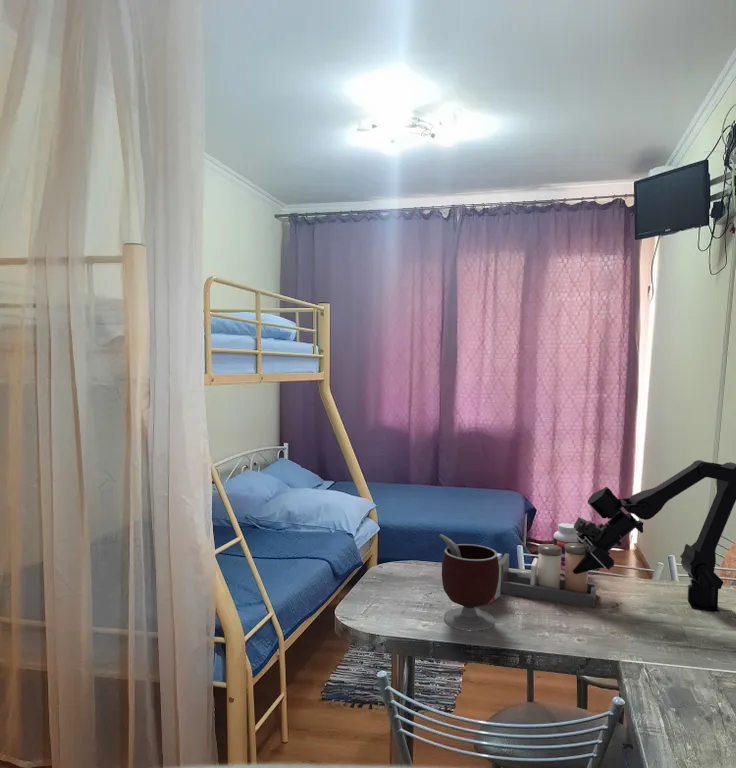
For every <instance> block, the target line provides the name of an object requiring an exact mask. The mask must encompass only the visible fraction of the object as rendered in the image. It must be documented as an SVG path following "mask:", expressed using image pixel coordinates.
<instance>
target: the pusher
mask: <svg viewBox="0 0 736 768" xmlns="http://www.w3.org/2000/svg"><path fill="white" fill-rule="evenodd" d="M516 572H517V577H521V578H528V579H531V583H530V585H533V586H537V575H538V558H537V557H534V558H533V560H532V563H531V565H530V571H525V570H517V571H516Z"/></svg>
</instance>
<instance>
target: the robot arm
mask: <svg viewBox="0 0 736 768" xmlns="http://www.w3.org/2000/svg"><path fill="white" fill-rule="evenodd" d="M705 478H709V479H715V480H716V481H715V482H716V483H715V485H716V493H715V496H714V498H713V500H712V503H711V506H710V508H709V511H708V512H707V516H705V517H706V518H705V521H704V523H703V524H702V528H701V529H700V533H699V535H698V538H697V540H696V541H695V542H693V544H692V545H689V544H688V543H686V544H685V545H684V549H683V552H682V553H681V555H680V556H679V558H681V561H680V564H681V567H682V569H683V570H684V571H685V572H687V575H688V577H689V578H690V584H688V585H687V598H686V599H687V602H688V604H689V607H690V608H691V609H692V608H693V609H697V610H703V611H704V610H705V611H711V612H717V613H719V612H720V609H719V607H718V606H719V590H721V589H722V587H723V585H724V581H723V580H722V579H721V578H720V577H719V576H718V574H716V573H715V569H716V568H715V567H716V563H717V561H716V560H717V559H716V550H717V546H718V544H719V542H720V540H721V537H722V535H723V533H724V531H725V527H726V526H727V523H728V520H729V518H730V516H731V513H732V511H733V509H734V505H735V504H736V463H735V462H725V463H722V464H721V463H717V462H708V461H704V460H702V459H697V460H695V461H692V463H691V464H690V465H689V466H687V467H685V468H684V469H682V470H680V471H679V472H677V473H675V474H673V476H671V477H669V478H668V479H666V480H665V481H663V482H662V483H660V484H658V485H656V486H655V487H651V488H649V489H644V490H642V491H639V492H637V493H635V494H633V495H631V496H629V497H625V498H618V497H617V496H616V495H615V494H614V493H613V490H611V489H610V488H609V487H608V486H605V487H604V488H603V489H599V490H597V491H596V492H594V493H592V495H590V496H589V498H588V499H587V504H588V505H589V506H590V507H591V509H593V510H594V511H595V512H596V513H597V514H598V515H599V516H600V518H602V519H608V520H607V521H606V523H604V524H603V523H599V524H598V525H597V524H596V523H595V522H592V521H590V520H589V521H588V520H586V519H584V518H582V517H577V519H576V521H575V524H573V525H574V528H575V530H576V531H577V532H576V533H577V535H578V537H579V538H581V539H580V540H579V539H578V538H577V541H578V543H581V544H585V545H587V546H589V551H588V550H587V549H585V557H584V558H583V559H582V560H581V561H580V563H579V564H578V565H577V566H576V567H575V569H574V570H573V573H574V574H579V573H583V572H586V571H588V572H589V571H594V570H599V569H605V568H606V569H607V570H608V571H610V570H611V569H612V568H613V567H614V566H615V560H614V559H613V557H612V556H611V553H610V551H611V550H612V549H613V548H614V547H615V546H619V547H620V546H621V545H622V542H621V541H623V539H624V538H626V537H627V536H628V535H630V534H631V532H633V531H634V530H635V529H636V530H637V531H638V532H640V533H641V534H643V533H644V522H643V521H642V520H647V521H648V520H650V519H652V518H653V517H655V516H656V515H657V514H658V513H659V512H661V510H662V509H663V507H664V506H665V504H666V503H668V502H669V501H670V500H672V499H673V498H674V497H677V496H678V495H680V494H681V493H684V491H686V490H687V489H689V488H691V487H692V486H694V485H696V484H698V483H699V482H701V481H702V480H703V479H705ZM622 509H623V510H624V511H626V512H627V513H626V512H624V511H623V510H622ZM632 514H633V515H634V516H635V517H637V518H638V519H641V520H637V519H636V518H635V517H634V516H633V515H632Z"/></svg>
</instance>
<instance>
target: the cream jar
mask: <svg viewBox="0 0 736 768" xmlns="http://www.w3.org/2000/svg"><path fill="white" fill-rule="evenodd" d="M537 551H538V555H537V556H538V585H537V586H540V587H546V588H553V589H559V590H560V578H561V575H562V574H561V554H562V548H561V547H560V546H557V545H553V543H552V544H551V543H542V544H541V543H540V544H538V549H537Z"/></svg>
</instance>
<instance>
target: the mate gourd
mask: <svg viewBox="0 0 736 768" xmlns="http://www.w3.org/2000/svg"><path fill="white" fill-rule="evenodd" d="M439 538H441V539H442V540H444V542H445V543H446V545H447V547H445V548H444V553H443V555H442V556H443V557H442V560H441V561H442V563H441V581H442V587H443V591H444V593H445V594H446V595H447V597H448V599H449V600H450V601H451V602H453V603H455V604H457V605H459V606H461V607H456V608H452V609H449V610H447V611H446V612H444V614H443V621H444V623H446V625H448V626H449V627H451V628H453V629H456V628H457V630H459V629H463V630H462V631H464V630H471V631H470V632H482V631H481V630H483V631H486V630H485V629H487V630H489V628H490V629H491V628H493V626H494V625H495V619H494V616H493V615H491V614H490V613H489V612H486V611H484V610H482V609H481V610H480V609H476V608H477V607H482V606H485V605H487V604H488V603H489V602H490V601H491V599H492V598H493V597H494V596H495V594H496V590H497V587H498V581H499V564H498V558H497V553H498V551H496V550H495V549H493V548H491V547H487V546H484V545H479V544H473V543H471V544H470V543H460V544H459V543H458V544H456V542H454V541H453V540H452V539H450V538H449V537H447V536H446V535H443V533H440V534H439ZM479 630H480V631H479Z"/></svg>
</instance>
